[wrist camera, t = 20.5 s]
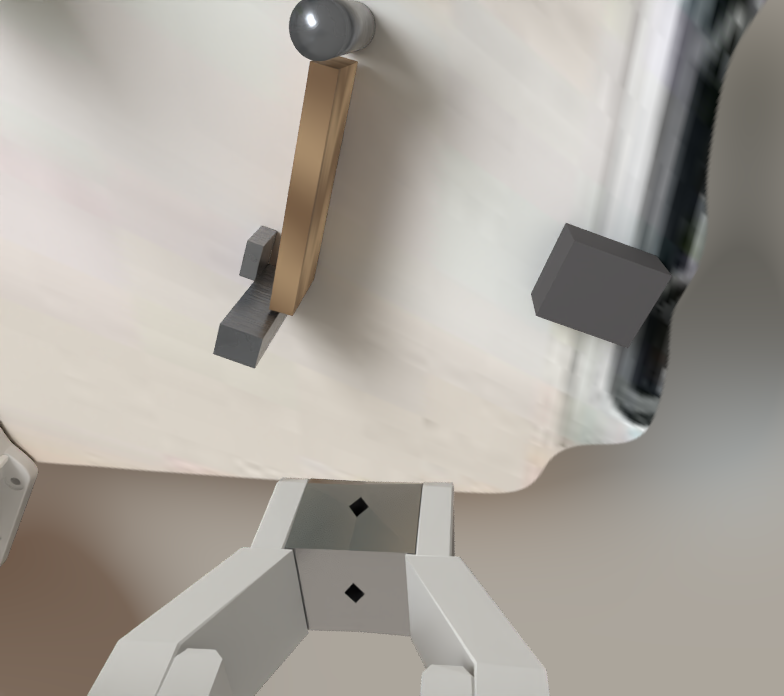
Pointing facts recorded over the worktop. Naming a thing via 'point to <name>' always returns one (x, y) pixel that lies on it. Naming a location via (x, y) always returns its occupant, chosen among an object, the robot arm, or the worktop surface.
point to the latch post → (252, 306)
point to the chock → (598, 285)
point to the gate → (312, 179)
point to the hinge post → (330, 28)
